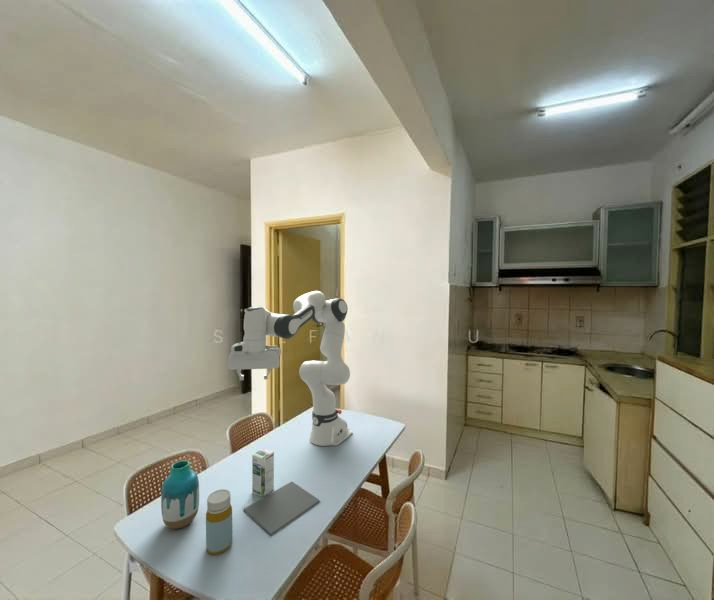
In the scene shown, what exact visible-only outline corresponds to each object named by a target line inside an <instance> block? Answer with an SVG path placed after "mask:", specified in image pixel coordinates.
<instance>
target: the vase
mask: <svg viewBox="0 0 714 600" xmlns="http://www.w3.org/2000/svg"><path fill="white" fill-rule="evenodd" d="M169 471H170V472H169V475H168V476H167V477H166V478H165V479H164V481H163V482H162V485H161V495H160V503H161V504H160V505H161V509H160V510H161V516H162V517H161V518H162V521H163V524H164V526H166V527H167V528H169V529H172V530H174V529H175V530H177V529H181V528H184V527H186V526H187V525H189V524H190V523H191V522H193V521H194V519H195V518H196V516H197V514H198V512H199V507H200V482H199V476H198V473H197V472H196V471H195V470H192V469H191V464H190V461H189V460H186V459H182V460H179V461H175V462H174V463H172V464H171V466H170V470H169Z"/></svg>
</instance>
